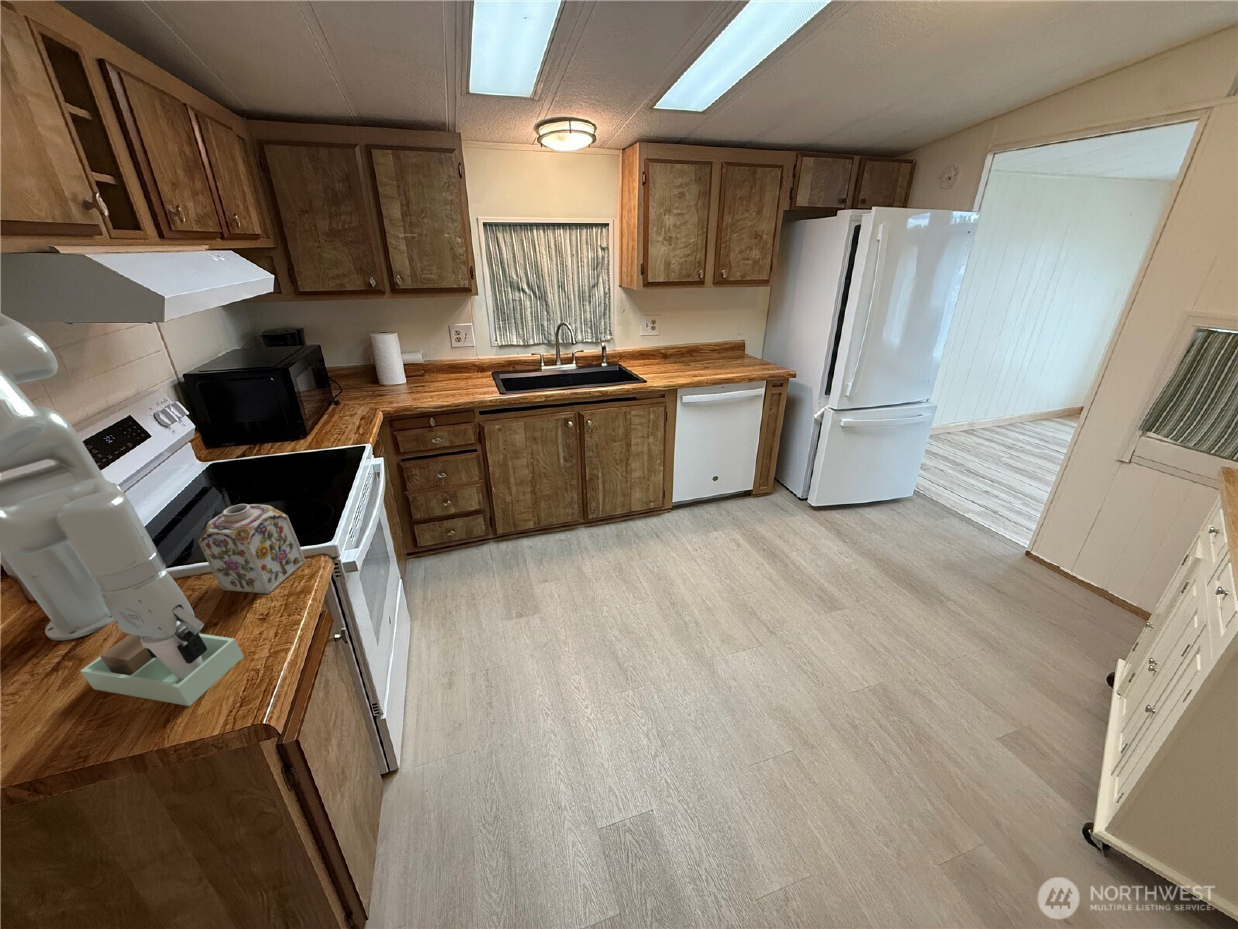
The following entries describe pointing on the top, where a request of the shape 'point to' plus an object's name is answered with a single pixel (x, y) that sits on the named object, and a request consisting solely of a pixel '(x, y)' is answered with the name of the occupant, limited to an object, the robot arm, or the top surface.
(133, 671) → the walnut block
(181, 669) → the white cup
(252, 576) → the decorative jar
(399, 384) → the top surface
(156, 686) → the tote
